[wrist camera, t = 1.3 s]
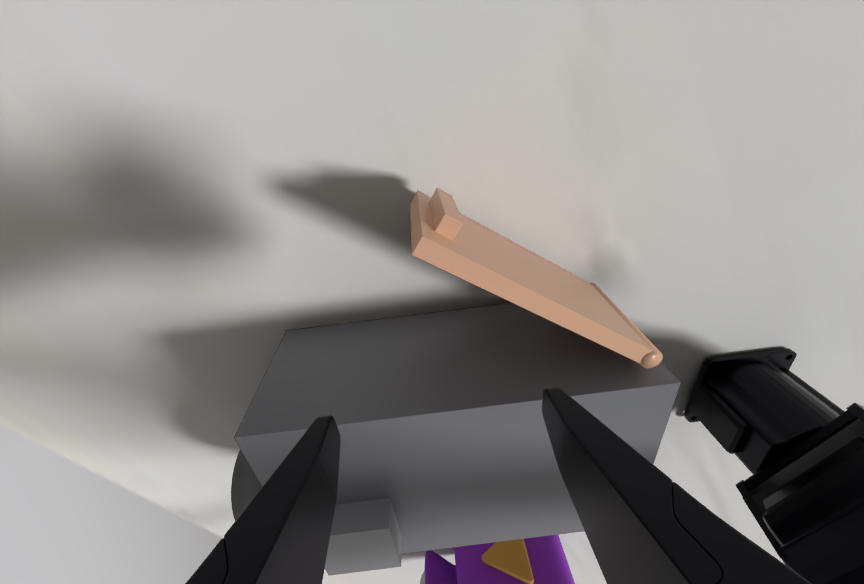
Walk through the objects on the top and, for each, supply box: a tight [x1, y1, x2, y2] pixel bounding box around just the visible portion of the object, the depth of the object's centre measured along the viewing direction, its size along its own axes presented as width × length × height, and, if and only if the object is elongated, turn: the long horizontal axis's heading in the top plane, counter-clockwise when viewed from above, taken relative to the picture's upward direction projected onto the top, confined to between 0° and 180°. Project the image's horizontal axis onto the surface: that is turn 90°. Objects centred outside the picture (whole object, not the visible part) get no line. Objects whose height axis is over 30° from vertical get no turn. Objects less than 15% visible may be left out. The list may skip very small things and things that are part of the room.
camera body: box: [231, 303, 681, 575], centre depth 22 cm, size 23×12×10 cm, turn 96°
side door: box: [410, 188, 663, 368], centre depth 17 cm, size 12×2×6 cm, turn 61°
